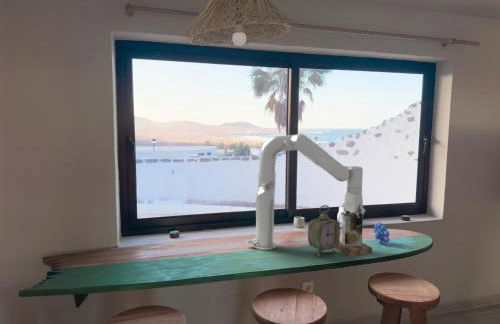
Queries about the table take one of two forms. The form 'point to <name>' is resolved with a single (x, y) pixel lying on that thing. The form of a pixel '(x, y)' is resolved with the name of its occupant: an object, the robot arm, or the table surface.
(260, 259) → the table surface
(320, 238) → the tabletop clock
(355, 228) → the coffee box
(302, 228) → the table surface
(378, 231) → the grapes
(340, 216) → the mug
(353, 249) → the walnut shelf
